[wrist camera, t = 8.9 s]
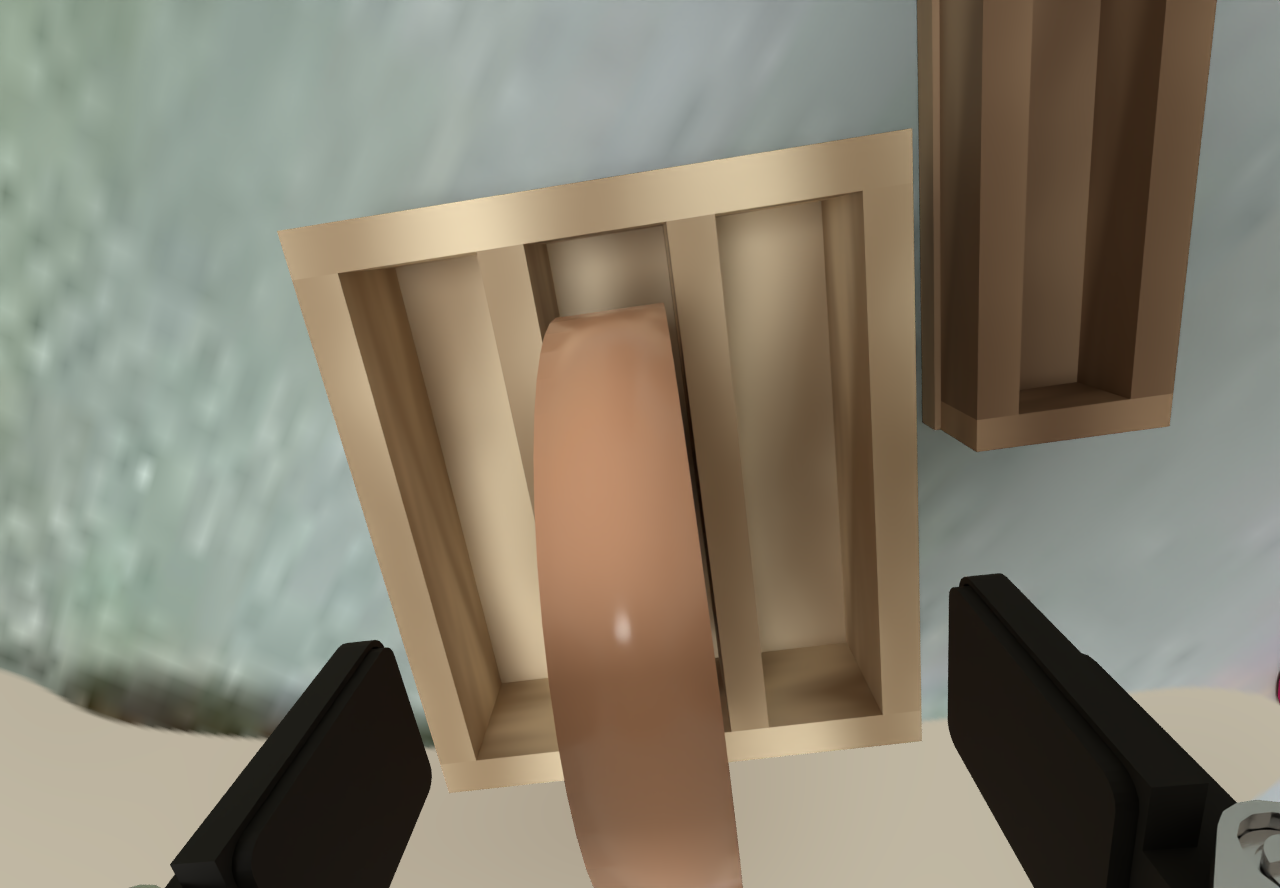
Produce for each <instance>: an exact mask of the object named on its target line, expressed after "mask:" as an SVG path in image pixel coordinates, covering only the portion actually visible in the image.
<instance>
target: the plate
mask: <svg viewBox="0 0 1280 888" xmlns="http://www.w3.org/2000/svg"><path fill="white" fill-rule="evenodd" d="M533 465H534V512H535V531H536V551H537V568H538V580H539V592H540V604H541V617H542V628H543V636H544V645H545V654H546V663H547V672H548V681H549V688H550V695H551V702H552V709H553V716H554V723H555V730H556V736H557V743H558V749H559V754H560V759H561V765H562V770H563V776H564V781H565V787H566V792H567V797H568V800H569V805H570V809H571V814H572V818H573V822H574V827H575V831H576V836H577V839H578V842H579V846H580V849H581V852H582V856H583V859H584V863H585V866H586V869H587V872H588V874H589V877H590V879H591V882H592V884H593V886H594V888H743V886H742V875H741V866H740V857H739V848H738V839H737V832H736V831H737V830H736V822H735V813H734V806H733V797H732V789H731V781H730V772H729V764H728V756H727V748H726V740H725V732H724V724H723V717H722V709H721V701H720V693H719V686H718V678H717V670H716V663H715V655H714V647H713V640H712V632H711V625H710V617H709V610H708V602H707V595H706V587H705V580H704V572H703V565H702V558H701V550H700V543H699V535H698V528H697V521H696V514H695V506H694V499H693V492H692V485H691V478H690V471H689V463H688V456H687V449H686V442H685V435H684V428H683V421H682V414H681V407H680V401H679V394H678V387H677V380H676V374H675V367H674V360H673V354H672V347H671V341H670V335H669V329H668V323H667V317H666V311H665V306H664V303H656V304H649V305H642V306H635V307H628V308H621V309H614V310H607V311H600V312H593V313H586V314H579V315H572V316H565V317H557V318H555V319H554V320H553V321H552V322H551V323H550V324H549V326H548V329H547V331H546V333H545V336H544V340H543V344H542V348H541V352H540V359H539V366H538V374H537V382H536V397H535V411H534V452H533Z"/></svg>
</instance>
